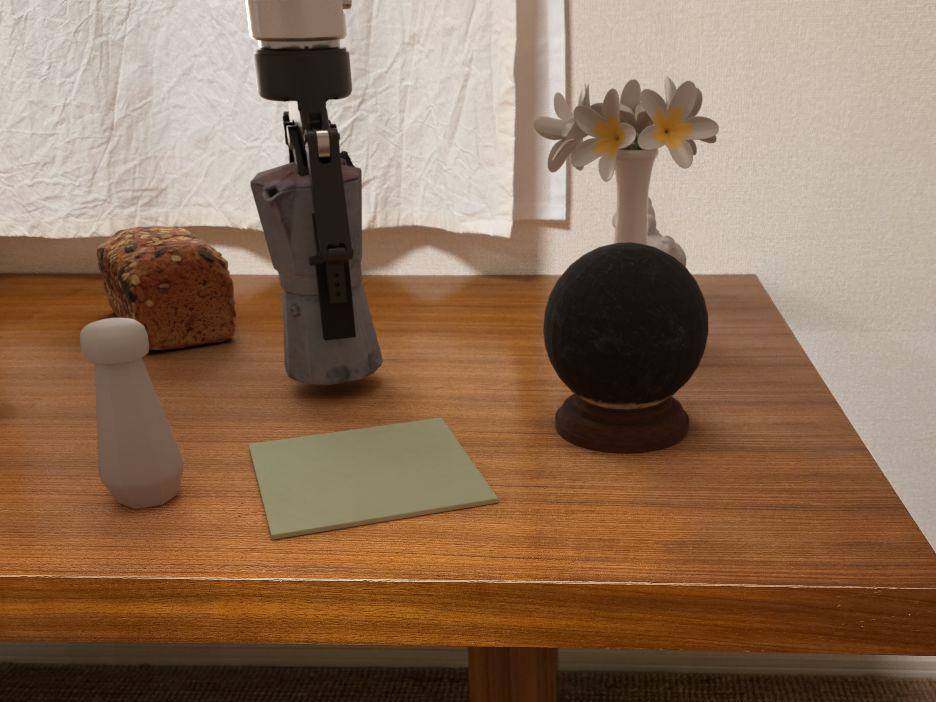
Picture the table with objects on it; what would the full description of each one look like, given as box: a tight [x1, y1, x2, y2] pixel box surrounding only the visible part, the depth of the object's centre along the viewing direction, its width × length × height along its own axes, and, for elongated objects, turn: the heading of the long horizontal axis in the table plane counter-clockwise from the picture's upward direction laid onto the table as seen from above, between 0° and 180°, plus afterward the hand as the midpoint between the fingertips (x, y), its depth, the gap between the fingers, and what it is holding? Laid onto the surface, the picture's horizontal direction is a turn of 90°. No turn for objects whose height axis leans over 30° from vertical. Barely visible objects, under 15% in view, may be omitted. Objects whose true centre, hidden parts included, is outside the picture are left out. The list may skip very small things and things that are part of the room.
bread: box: [96, 225, 237, 351], centre depth 107 cm, size 19×11×10 cm, turn 30°
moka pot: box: [249, 150, 384, 386], centre depth 89 cm, size 10×15×20 cm, turn 167°
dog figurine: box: [611, 196, 687, 268], centre depth 116 cm, size 5×13×11 cm, turn 24°
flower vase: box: [533, 76, 720, 245], centre depth 97 cm, size 13×18×25 cm
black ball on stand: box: [542, 242, 710, 454], centre depth 81 cm, size 13×13×15 cm
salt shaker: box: [79, 317, 184, 510], centre depth 71 cm, size 6×6×13 cm
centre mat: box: [248, 417, 499, 541], centre depth 77 cm, size 16×16×1 cm
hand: (330, 321), depth 91 cm, fingers closed on moka pot, 9 cm apart
